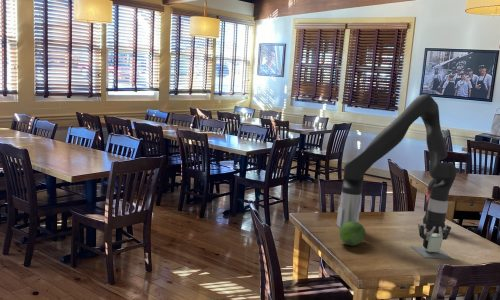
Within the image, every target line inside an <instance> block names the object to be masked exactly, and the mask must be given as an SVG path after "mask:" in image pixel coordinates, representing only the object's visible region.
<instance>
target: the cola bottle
mask: <svg viewBox="0 0 500 300" xmlns="http://www.w3.org/2000/svg"><path fill="white" fill-rule="evenodd" d="M441 181H442V180H437V179H433V178H432V179H431V180H430V182H429V183H428V185H427V192H426V197H425V198H426V199H425V204H424V205H425V214H424V216H423V217H422V224H425V222H426V217H427V210H428V203H429V200H430V194H431V188H432V186H433V185H435V184H439V183H440V182H441Z"/></svg>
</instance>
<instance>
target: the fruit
mask: <svg viewBox="0 0 500 300" xmlns="http://www.w3.org/2000/svg"><path fill="white" fill-rule="evenodd" d="M365 234H366V229H365V227H364V226H363V225H362V224H361V223H359V221H358V222H354V221H351V222H348V223H345V224H344V225H343V226H342V227H341V229H340V230H339V238H340V240H341V241H342V243H344V244H345V245H347V246H351V247H352V246H357V245H359V244H361V243H362V242H363V240H364V238H365Z"/></svg>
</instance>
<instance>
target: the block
mask: <svg viewBox="0 0 500 300" xmlns="http://www.w3.org/2000/svg"><path fill="white" fill-rule="evenodd" d="M441 241H442V242H443V240H442V238H441V237H439V236H437V234H436V233H432V235H431V236H430V237H429V240H428V247H427V249H426V250H427V251H428V252H440V250H441V247H442V243H441ZM422 247H423V248H424V246H423V245H422Z"/></svg>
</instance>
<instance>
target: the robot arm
mask: <svg viewBox="0 0 500 300" xmlns="http://www.w3.org/2000/svg"><path fill="white" fill-rule="evenodd" d="M439 110H440V108H439V104H438V103H437V102H436V100H435V99H434V98H433V96H431V95H430V94H425V93H424V94H420V95H418V96H417V97H415V99H413V101H411V102H410V103H409V105H408V106H407V107H405V109H404V110H403V111H402V112H401V113H400V114H399V115H398V116H397V117H396V118H394V120H393V121H392V122H390V123H389V124H388V125H387V126H386V127H384V128H383V130H381V131H380V132H379V133H377V135H376V136H375V137H374V139H372V141H371V142H370V143H369V144H368V145H367V146H366V148H365V149H364V150H363V151H362V152H360V153H359V154H358V155H357V156H355V157H353V158H350V159H349V160H346V162H345V164H344V167H343V179H342V185H341V195H340V204H339V206H337V207H338V209H337V216H336V217H337V218H336V226H337V227H338V228H339V229H340V230H341V227H342V226H343V225H344V224H345V223H348V222H351V221H354V222H358V223H359V219H360V218H359V217H360V209H361V201H362V193H363V187H364V186H363V183H364V177H365V174H366V172H367V171H368V170H369V169H370V168H371V167H372V166H373V165H374V164H375V163H376V162H377V161H379V160H380V159H382V158H384V157H385V156H386V155H387V154H388V153H390V152H391V151H393V149H394V148H395V147H397V146H398V145H399V144H401V142H402V141H403V139H404V138H405V136H406V134H407V132H408V130H409V128H410V127H411V125H413V123H415V122H416V121H417V120H418V119H419V118H421V120H422V122H423V124H424V127H425V130H426V131H425V132H426V146H427V150H428V154H429V168H428V173H429V176H430V177H431V178H432V179H437V180H442V181H441V182H440V183H439V184H435V185H433V186H432V188H431V194H430V200H429V203H428V210H427V217H426V222H425V224H423V223H422V224H421V223H418V225H417V227H418V234H419V235H418V236H419V237H420V238H421V239H423V241H422V247H423V246H424V248H425V249H427V247H428V240H429V237H430V236H431V235H432V234H436V235H437V236H439V237H441V238H442V241H441V244H442V243H443V241H444V240H446V241H447V239H448V237H449V235H450V233H451V229H452V226H450V225H449V224H446V223H445V222H446V219H447V212H448V205H449V204H448V203H449V197H450V196H449V195H450V190H451V189H452V186H453V184H454V182H455V180H456V178H457V172H458V171H457V167H456V165H455V164H454V163H451V162H441V161H442V160H445V159H446V158H447V157H448V150H447V147H446V142H445V140H444V137H443V132H442V128H441V122H440V121H441V120H440V111H439Z"/></svg>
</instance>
